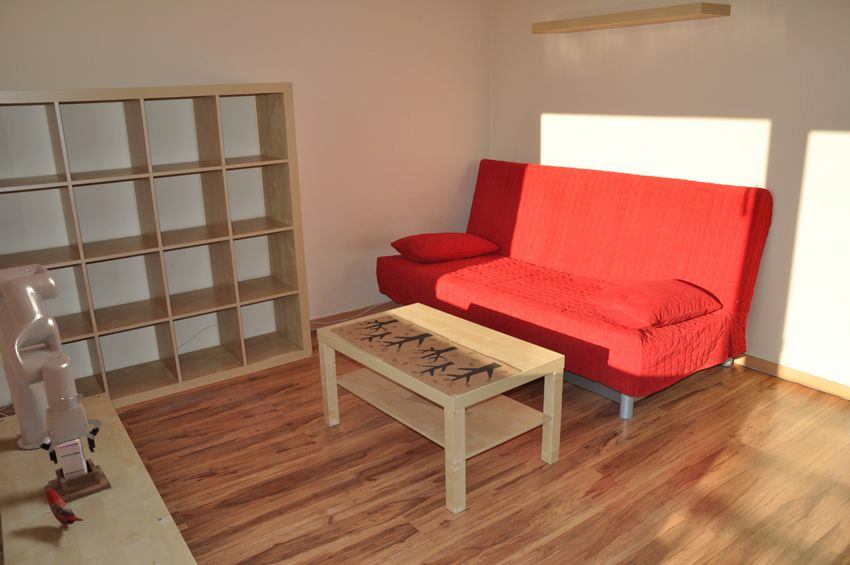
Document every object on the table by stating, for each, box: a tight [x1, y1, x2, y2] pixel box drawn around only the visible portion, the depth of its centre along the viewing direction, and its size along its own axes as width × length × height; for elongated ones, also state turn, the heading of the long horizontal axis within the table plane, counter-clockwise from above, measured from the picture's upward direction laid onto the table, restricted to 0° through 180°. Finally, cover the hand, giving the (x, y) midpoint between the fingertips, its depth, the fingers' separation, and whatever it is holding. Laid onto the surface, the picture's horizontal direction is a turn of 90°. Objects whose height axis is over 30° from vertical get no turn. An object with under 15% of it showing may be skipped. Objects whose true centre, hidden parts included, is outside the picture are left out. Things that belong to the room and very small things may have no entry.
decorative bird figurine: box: [45, 488, 84, 530], centre depth 178 cm, size 3×18×10 cm, turn 55°
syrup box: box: [56, 437, 88, 481], centre depth 197 cm, size 6×6×14 cm
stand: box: [47, 458, 112, 504], centre depth 199 cm, size 14×14×5 cm
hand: (73, 456), depth 197 cm, fingers open, 9 cm apart
